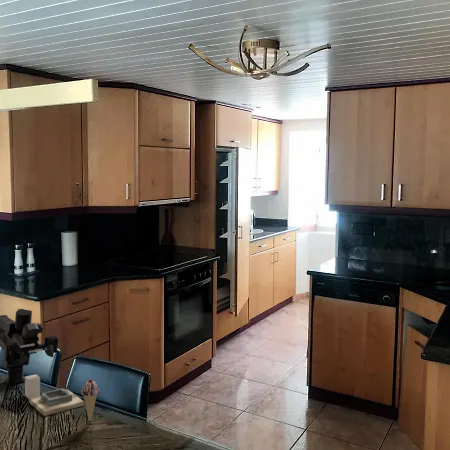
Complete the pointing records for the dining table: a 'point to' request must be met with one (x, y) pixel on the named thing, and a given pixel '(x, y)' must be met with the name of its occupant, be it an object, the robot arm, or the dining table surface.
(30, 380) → the connector plug
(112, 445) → the dining table surface
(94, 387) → the ice cream cone
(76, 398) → the socket holder
